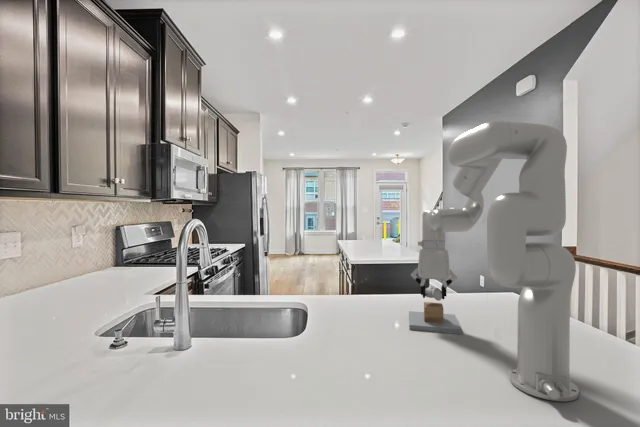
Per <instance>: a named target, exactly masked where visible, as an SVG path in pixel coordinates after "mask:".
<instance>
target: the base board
mask: <svg viewBox="0 0 640 427" xmlns="http://www.w3.org/2000/svg"><path fill="white" fill-rule="evenodd" d="M408 317H409V318H408V322H409V323H408V325H409V326H408V328H409V329H408V330H412V331H413V330H414V331H425V332H436V333H446V334H458V335H459V334H460V335H462V334H463V329H462V327H461V325H460V323H459V321H458V319H457V317H456V314H452V313H451V314H449V313H443V323H432V322H424V311H411V310H410V311H408Z"/></svg>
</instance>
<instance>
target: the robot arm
mask: <svg viewBox="0 0 640 427" xmlns="http://www.w3.org/2000/svg"><path fill="white" fill-rule="evenodd" d="M567 152H568V145H567V139H566V137H565V135H564V134H563V133H562V131H560V130H559V129H558V128H556V127H555V126H554V127H553V126H551V125H547V124H543V123H542V124H541V123H533V122H523V121H521V122H519V121H517V122H516V121H504V120H493V121H487V122H484V123H482V124H480V125H478V126H476V127H474V128H472V129H470V130H467V131H466V132H463V133H461V134H460V135H458V136H457V137H456V138H454V140H453V141H452V142H451V144H450V147H449V149H448V152H447V157H448V162H449V163H450V164H451V165H452V166H454V167H456V168H459V169H458V171H457V172H456V174H455V176H454V178H453V180H452V184H453V187H454V188H455V190H456V191H458V192H459V193H460V194H461V195H463V196H465V197H467V198H468V200H467V201H466V203H465V205H464V206H463V208H436V209H425V210H424V211H423V212H422V222H421V223H422V224H421V225H422V226H421V232H422V239H421V241H417V245H418V246H419V247H421V248H420V249H419V254H418V264H417V265H418V266H417V267H416V268H415V269H414V271H412V272H411V273H410V277H411V278H413V279H414V280H415V281H416V282H417V284H418V285H419V286H420V295H421V296H422V298H423V299H425V298H426V296H425V289H426V284H425V282H426V281H427V280H441V283H442V285H441V288H440V290H441V292H442V299H441V300H445V297H447V288H448V286H450V285H451V284H452V283H453V282H454V281H456V280H457V278H458V276H457V275H456V274H455V273H454V272H453V271H452V270H451V267H450V256H449V251H448V249H446V233H457V232H458V233H465V232H468V231H470V230H472V228H474V226H475V225H476V224H477V222H478V221H479V219H480V217H481V216H482V214H483V212H484V202H485V200H484V197H483V190H484V189H485V188H486V185H487V184H488V182H489V181H490V179H491V178H492V176H493V175H494V173H495V171H496V170H497V168H498V167H499V165H500V163H501V162H502V160H503V159H504V160H506V159H507V160H525V162H524V164H523V165H522V166H521V169H520V173H519V175H518V182H519V183H518V184H519V186H518V192H506V193H502V194H500V195H498V196H496V197H495V199H494V200H492V202H491V204H490V206H489V208H488V211H487V216H486V232H487V233H486V239H487V240H486V241H487V242H486V243H487V247H486V248H487V250H486V251H487V266H488V271H489V274H490V276H491V278H492V279H493V281H494V282H495V283H496V284H498V285H499V286H501V287H504V288H509V289H518V288H519V289H520V288H522V289H521V291H520V294H519V297H518V300H517V357H516V358H517V364H516V365H517V367H516V368H515V369H512V370H511V371H510V372H509V381H510V382H511V384H512V385H513V386H514V387H516V388H517V389H519V390H520V391H522V392H524V393H526V394H528V395H531V396H533V397H537V398H539V399H543V400H548V401H553V402H572V401H575V400H577V399H578V398H579V396H580V394H579V392H580V391H579V388H578V386H577V385H576V384H575V383H573V381H571V380H570V374H571V373H570V367H571V366H570V365H571V364H570V358H571V357H570V348H571V347H570V344H571V343H570V342H571V341H570V339H571V338H570V337H571V336H570V335H571V334H570V328H571V326H570V325H571V324H570V322H571V320H570V319H571V300H572V299H571V296H572V290H573V286H574V282H575V277H576V273H577V266H576V265H577V264H576V260H575V257H574V256H573V254H572V253H571V251H570V250H568V249H567V248H565V247H564V246H562V245H560V244H559V243H553V242H546V241H545V242H544V241H542V242H541V241H539V242H538V241H537V242H527V237H546V236H547V237H549V236H554V235H557V234H558V233H560V232H561V231H562V230H564V228H565V226H566V220H567V203H566V202H567V200H566V198H567V197H566V177H565V176H566V171H565V170H566V163H567V162H566V160H567ZM417 274H418V276H417ZM420 278H421V279H420Z"/></svg>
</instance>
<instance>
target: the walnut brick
mask: <svg viewBox="0 0 640 427" xmlns="http://www.w3.org/2000/svg"><path fill="white" fill-rule="evenodd" d="M423 312H424V322H432V323H443V314H444V306H443V303H441V302H431V301H424V302H423Z"/></svg>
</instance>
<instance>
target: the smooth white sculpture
mask: <svg viewBox="0 0 640 427" xmlns="http://www.w3.org/2000/svg"><path fill="white" fill-rule="evenodd" d="M425 298H429V299H434V300H436V301H442V300H443V299H442V292H441V288H438V287H434V286H428V287H425Z"/></svg>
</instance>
